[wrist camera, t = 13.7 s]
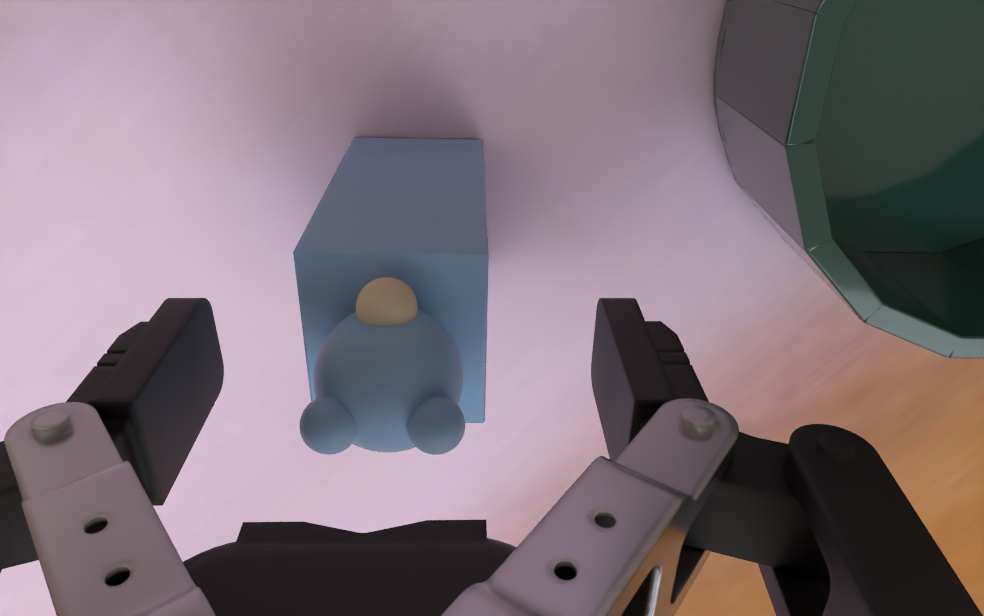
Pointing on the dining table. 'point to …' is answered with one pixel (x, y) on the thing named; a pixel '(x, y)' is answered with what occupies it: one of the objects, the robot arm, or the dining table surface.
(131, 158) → the dining table surface
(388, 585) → the robot arm
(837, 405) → the dining table surface
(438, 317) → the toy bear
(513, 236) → the dining table surface
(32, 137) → the dining table surface
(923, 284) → the pot
